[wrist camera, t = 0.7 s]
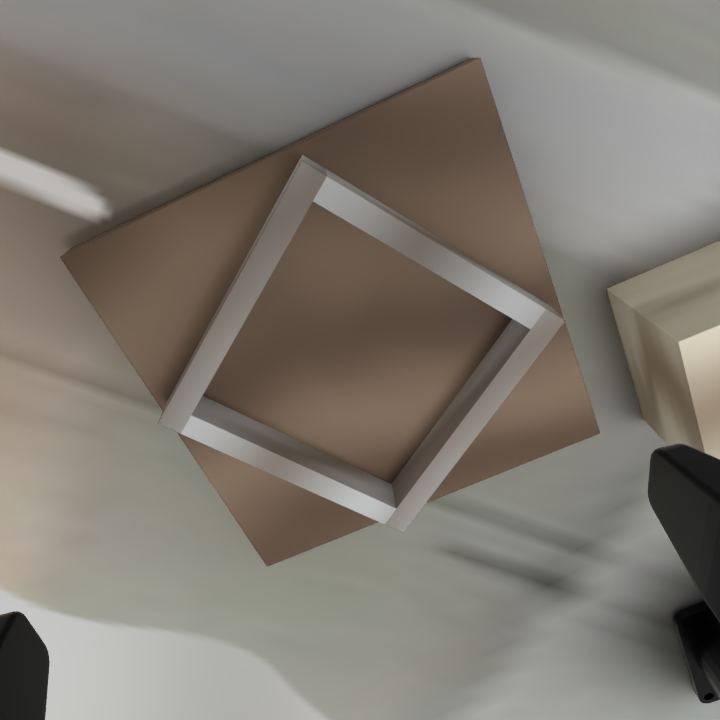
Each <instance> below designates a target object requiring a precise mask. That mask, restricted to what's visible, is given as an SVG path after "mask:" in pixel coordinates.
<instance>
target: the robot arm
mask: <svg viewBox="0 0 720 720" xmlns="http://www.w3.org/2000/svg"><path fill="white" fill-rule="evenodd" d="M648 497H649V501H650V504H651V506H652V508H653V510H654V512H655V514H656V515H657V517H658V519H659V521H660V523H661V524H662V526H663V528H664V530H665V532H666V533H667V535H668V537H669V539H670V540H671V542H672V544H673V546H674V548H675V549H676V551H677V553H678V555H679V556H680V558H681V560H682V562H683V564H684V565H685V567H686V569H687V571H688V572H689V574H690V576H691V578H692V580H693V581H694V583H695V585H696V587H697V588H698V590H699V592H700V593H701V595H702V597H703V598H704V600H705V602H703V603H700V604H697V605H694V606H692V607H689V608H686V609H683V610H681V611H679V612H677V613H676V614H675V615H674V617H673V622H674V625H675V629H676V632H677V635H678V639H679V642H680V645H681V648H682V652H683V655H684V658H685V661H686V665H687V668H688V671H689V674H690V678H691V681H692V684H693V687H694V691H695V693H696V695H697V697H698V698H699V700H700V701H701V702H702V703H711V702H714V701H717V700H720V459H718V458H716V457H713V456H711V455H709V454H706V453H704V452H702V451H700V450H697V449H695V448H693V447H690V446H688V445H685V444H674V445H670V446H666V447H662V448H658V449H656V450H654V452H653V453H652V455H651V460H650V471H649V482H648ZM48 674H49V655H48V651H47V648H46V646H45V644H44V643H43V641H42V640H41V638H40V637H39V635H38V634H37V633H36V631H35V629H34V628H33V627H32V625H31V624H30V622H29V621H28V619H27V618H26V617H25V616H24V614H22V613H20V612H10V613H6V614H2V615H0V720H45V712H46V699H47V687H48V686H47V685H48Z"/></svg>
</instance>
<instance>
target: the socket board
mask: <svg viewBox="0 0 720 720" xmlns="http://www.w3.org/2000/svg"><path fill="white" fill-rule="evenodd" d="M60 258H61V259H62V261H63V262H64V264H65V265H66V267H67V268H68V270H69V271H70V273H71V274H72V276H73V277H74V279H75V280H76V282H77V283H78V285H79V286H80V288H81V289H82V291H83V292H84V294H85V295H86V297H87V298H88V300H89V301H90V303H91V304H92V306H93V307H94V309H95V310H96V312H97V313H98V315H99V316H100V318H101V319H102V321H103V322H104V324H105V325H106V327H107V328H108V330H109V331H110V333H111V334H112V336H113V337H114V339H115V340H116V342H117V343H118V345H119V346H120V348H121V349H122V351H123V352H124V354H125V355H126V357H127V358H128V360H129V361H130V363H131V364H132V366H133V367H134V369H135V370H136V372H137V373H138V375H139V376H140V378H141V379H142V381H143V382H144V383H145V385H146V386H147V388H148V389H149V391H150V392H151V394H152V395H153V397H154V398H155V400H156V401H157V403H158V404H159V406H160V407H161V409H162V410H163V413H162V415H161V418H160V420H159V422H158V424H160V425H162V426H165V427H167V428H169V429H171V430H173V431H176V432H177V433H178V434H179V436H180V437H181V439H182V440H183V442H184V443H185V445H186V446H187V448H188V449H189V451H190V452H191V454H192V455H193V457H194V458H195V460H196V461H197V463H198V464H199V466H200V467H201V469H202V470H203V472H204V473H205V475H206V476H207V478H208V479H209V481H210V482H211V484H212V485H213V487H214V488H215V490H216V491H217V493H218V494H219V496H220V497H221V499H222V500H223V502H224V503H225V505H226V506H227V508H228V509H229V511H230V512H231V513H232V515H233V516H234V518H235V519H236V521H237V522H238V524H239V525H240V527H241V528H242V530H243V531H244V533H245V534H246V536H247V537H248V539H249V540H250V542H251V543H252V545H253V546H254V548H255V549H256V551H257V552H258V554H259V555H260V557H261V558H262V560H263V561H264V563H265V564H266V566H270V565H272V564H275V563H277V562H280V561H282V560H285V559H287V558H290V557H292V556H295V555H297V554H300V553H302V552H305V551H307V550H310V549H312V548H315V547H317V546H320V545H322V544H325V543H327V542H330V541H332V540H335V539H337V538H340V537H342V536H345V535H347V534H350V533H352V532H355V531H357V530H360V529H362V528H365V527H367V526H370V525H372V524H375V523H377V522H380V523H382V524H385V525H387V526H389V527H391V528H394V529H396V530H398V531H400V532H404V531H405V529H406V528H407V527H408V526H409V524H410V523H411V522H412V520H413V519H414V518H415V516H416V515H417V514H418V512H419V511H420V510H421V509H422V507H423V506H424V505H425V503H427V502H430V501H432V500H435V499H437V498H440V497H442V496H445V495H447V494H450V493H452V492H455V491H457V490H460V489H462V488H464V487H467V486H469V485H472V484H474V483H477V482H479V481H482V480H484V479H487V478H489V477H492V476H494V475H497V474H499V473H502V472H504V471H507V470H509V469H512V468H514V467H517V466H519V465H522V464H524V463H527V462H529V461H532V460H534V459H537V458H539V457H542V456H544V455H547V454H549V453H552V452H554V451H557V450H559V449H562V448H564V447H567V446H569V445H572V444H574V443H577V442H579V441H582V440H584V439H587V438H589V437H592V436H594V435H597V434H599V433H600V431H599V428H598V425H597V422H596V419H595V416H594V412H593V409H592V406H591V403H590V400H589V397H588V394H587V391H586V387H585V384H584V381H583V378H582V375H581V372H580V369H579V365H578V362H577V359H576V356H575V353H574V350H573V347H572V344H571V340H570V337H569V334H568V331H567V328H566V325H565V320H564V318H563V315H562V312H561V309H560V306H559V303H558V300H557V297H556V293H555V290H554V287H553V284H552V281H551V278H550V275H549V271H548V268H547V265H546V262H545V259H544V256H543V253H542V250H541V246H540V243H539V240H538V237H537V234H536V231H535V228H534V224H533V221H532V218H531V215H530V212H529V209H528V206H527V203H526V199H525V196H524V193H523V190H522V187H521V184H520V181H519V178H518V174H517V171H516V168H515V165H514V162H513V159H512V156H511V152H510V149H509V146H508V143H507V140H506V137H505V134H504V131H503V127H502V124H501V121H500V118H499V115H498V112H497V109H496V105H495V102H494V99H493V96H492V93H491V90H490V87H489V84H488V80H487V77H486V74H485V71H484V68H483V65H482V62H481V58H471V59H469V60H467V61H465V62H463V63H461V64H458V65H456V66H454V67H452V68H450V69H448V70H446V71H444V72H442V73H440V74H437V75H435V76H433V77H431V78H429V79H427V80H425V81H423V82H421V83H419V84H416V85H414V86H412V87H410V88H408V89H406V90H404V91H402V92H400V93H397V94H395V95H393V96H391V97H389V98H387V99H385V100H383V101H381V102H379V103H376V104H374V105H372V106H370V107H368V108H366V109H364V110H362V111H360V112H358V113H355V114H353V115H351V116H349V117H347V118H345V119H343V120H341V121H339V122H336V123H334V124H332V125H330V126H328V127H326V128H324V129H322V130H320V131H318V132H315V133H313V134H311V135H309V136H307V137H305V138H303V139H301V140H299V141H296V142H294V143H292V144H290V145H288V146H286V147H284V148H282V149H280V150H278V151H275V152H273V153H271V154H269V155H267V156H265V157H263V158H261V159H259V160H257V161H254V162H252V163H250V164H248V165H246V166H244V167H242V168H240V169H238V170H235V171H233V172H231V173H229V174H227V175H225V176H223V177H221V178H219V179H217V180H214V181H212V182H210V183H208V184H206V185H204V186H202V187H200V188H198V189H196V190H193V191H191V192H189V193H187V194H185V195H183V196H181V197H179V198H177V199H174V200H172V201H170V202H168V203H166V204H164V205H162V206H160V207H158V208H156V209H153V210H151V211H149V212H147V213H145V214H143V215H141V216H139V217H137V218H134V219H132V220H130V221H128V222H126V223H124V224H122V225H120V226H118V227H116V228H113V229H111V230H109V231H107V232H105V233H103V234H101V235H99V236H97V237H95V238H92V239H90V240H88V241H86V242H84V243H82V244H80V245H78V246H76V247H73V248H71V249H70V250H69V251H67V252H66V253H65V254H63V255H62V256H61V257H60Z"/></svg>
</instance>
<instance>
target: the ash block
mask: <svg viewBox="0 0 720 720" xmlns="http://www.w3.org/2000/svg"><path fill="white" fill-rule="evenodd" d="M607 292H608V295H609V299H610V302H611V306H612V310H613V313H614V317H615V320H616V324H617V327H618V331H619V334H620V338H621V341H622V345H623V348H624V352H625V355H626V359H627V362H628V366H629V369H630V373H631V376H632V380H633V383H634V387H635V391H636V394H637V398H638V401H639V405H640V408H641V412H642V415H643V419H644V420H645V421H646V423H647V424H648V425H649V426H650V427H651V428H652V429H653V430H654V431H655V432H656V433H657V434H658V435H659V436H660V437H661V438H662V439H663V440H664V441H665V442H666V443H667V445H668V446H670V445H674V444H685V445H688V446H690V447H693V448H695V449H697V450H700V451H702V452H704V453H706V454H709V455H711V456H713V457H716V458H718V459H720V240H719V241H717V242H714V243H712V244H710V245H707V246H705V247H703V248H700V249H698V250H696V251H693V252H691V253H689V254H686V255H684V256H682V257H679V258H677V259H675V260H672V261H670V262H668V263H665V264H663V265H661V266H658V267H656V268H654V269H651V270H649V271H647V272H644V273H642V274H640V275H637V276H635V277H633V278H630V279H628V280H626V281H623V282H621V283H619V284H616V285H614V286H612V287H609V288H607Z"/></svg>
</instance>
